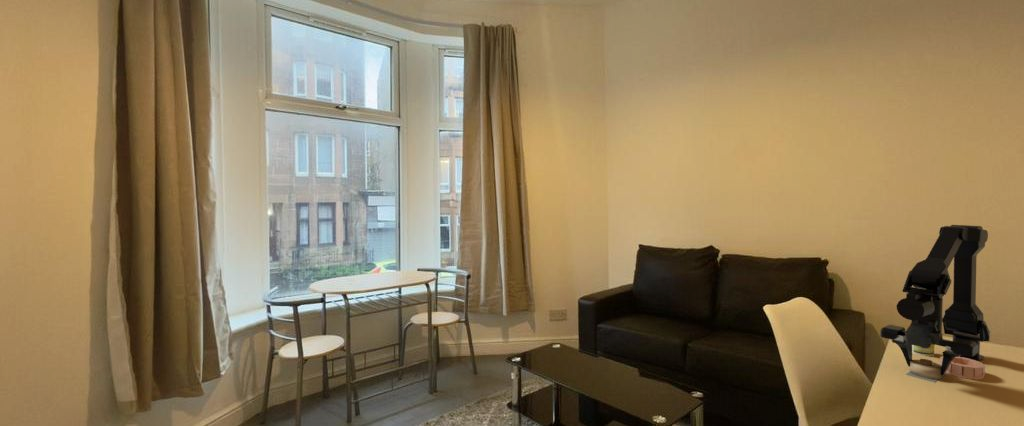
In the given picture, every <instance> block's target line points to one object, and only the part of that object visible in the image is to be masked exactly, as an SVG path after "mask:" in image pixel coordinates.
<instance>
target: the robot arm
mask: <svg viewBox="0 0 1024 426" xmlns="http://www.w3.org/2000/svg"><path fill="white" fill-rule="evenodd" d="M938 232H939V233H938V234H939V235H938V237H937V239H936V240H935V242H934V244H933V246H932V247H931V250H930V251H929V253H928V255H927V257H926V258H925V259H924V260H921V261H919V262H916V263H915V265H914V266H913V267H912V269H911V270H909V272H908V274H907V277H906V280H905V283H904V285H903V289H902V292H903V293H906V297H904V298H902V299H900V300H899V301H898V302H897V303H896V310H897V313H898V314H899V315H900V316H901V317H902V318H904V319H906V320H908V321H910V325H909V326H908V327H907V328H905V327H904V326H898V325H893V324H888V325H886V326H883V327H882V328H881V329H880V335H879V336H880V337H881V338H882V339H888V340H891V342H892V343H893V344H896V345H897V346H898V347H899V348H900V350H901V351H902V352H901V353H902V355H903V356H904V359H905V362H906V364H907V367H909V368H910V361H911V360H913V353H912V345H916V346H920V347H922V348H929V347H930V346H931V344H933V345H934V346H935V345H936V346H939V347H943V348H944V347H945V350H944V351H942V356H943V360H942V366H941V375H944V374H946V373H945V372H946V370H947V369H948V367H949V365H950V364H951V362H952V360H953V359H954V358H955V357H964V358H969V359H972V360H976V361H979V362H981V360H983V359H984V357H985V356H984V355H982V354H980V353H981V347H980V346H981V342H990V341H991V340H990V336H991V332H990V330H989V329H990V328H989V327H988V325H987V323H986V321H985V320H984V318H985V317H984V313H983V312H982V310H981V309H980V308H979V306H978V305H977V304H976V301H977V300H976V297H977V296H976V295H977V294H976V293H977V291H976V290H977V256H978V254H979V253H980V252H981V251H982V250H983V249H984V248H985V247H986V243H987V241H988V239H989V233H988V230H986V229H983V226H981V225H967V224H951V225H944V226H941V227H940V229H939V231H938ZM952 261H953V294H952V297H953V298H952V299H953V301H952V304H951V305H949V307H948V308H946V309H945V310H944V315H943V305H944V298H943V297H944V296H945V295H947V293H948V291H949V289H950V286H951V284H952V279H951V276H950V274H949V273H950V272H949V267H950V265H951V263H952ZM942 331H943V332H944V335H949V336H952V340H949V339H944V337H943V332H942ZM944 376H945V375H944Z"/></svg>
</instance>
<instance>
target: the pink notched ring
mask: <svg viewBox="0 0 1024 426" xmlns="http://www.w3.org/2000/svg"><path fill="white" fill-rule="evenodd" d="M942 360H943V355H942V356H940V357H939V365H941V366H942ZM985 373H986V365H985V364H984V363H983V362H981V361H976V360H972V359H969V358H964V357H955V358H954V359H953V360H952V362H951V364H950V365H949V367H948V369H947V370H946V372H945V374H946V375H950V376H954V377H957V378H962V379H969V380H983V379H984V378H985V375H986V374H985Z"/></svg>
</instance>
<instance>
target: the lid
mask: <svg viewBox="0 0 1024 426" xmlns="http://www.w3.org/2000/svg"><path fill="white" fill-rule="evenodd" d="M909 372H911V373H912V374H914V375H917V376H920V377H923V378H928V379H939V380H941V379H942V378H943V377H942V375H941V365H940V363H937V362H933V360H931V359H927V358H920V359H912V360H911V361H910V367H909Z"/></svg>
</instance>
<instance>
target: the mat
mask: <svg viewBox="0 0 1024 426" xmlns="http://www.w3.org/2000/svg"><path fill="white" fill-rule="evenodd" d="M946 375H947V373H945V374H944V375H942V378H943V377H944V376H946ZM905 376H909V377H913V378H916V379H921V380H924V381H928V382H932V383H936V382H937V381H939V380H940V379H928V378H923V377H920V376H917V375H914V374H912V373H911V372H910V371H908V372H907V373H905Z"/></svg>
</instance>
